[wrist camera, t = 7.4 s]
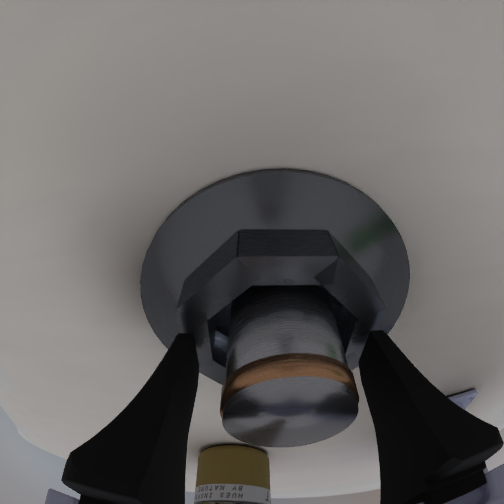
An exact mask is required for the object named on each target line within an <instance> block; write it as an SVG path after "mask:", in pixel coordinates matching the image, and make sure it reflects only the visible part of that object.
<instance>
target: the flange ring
mask: <svg viewBox="0 0 504 504" xmlns="http://www.w3.org/2000/svg"><path fill="white" fill-rule="evenodd" d="M409 279H410V273H409V261H408V255H407V250H406V248H405V245H404V242H403V240H402V237H401V235H400V233H399V232H398V230H397V228H396V227H395V225H394V223H393V222H392V221H391V219H390V218H389V217H388V216H387V215H386V214H385V212H384V211H383V210H382V209H381V208H380V207H379V206H378V205H377V204H376V203H375V202H374V201H373V200H372V199H370V198H369V197H368V196H367V195H365V194H364V193H363V192H361V191H359V190H358V189H356V188H354V187H353V186H351V185H349V184H347V183H345V182H343V181H340V180H338V179H335V178H333V177H330V176H327V175H323V174H319V173H315V172H310V171H304V170H293V169H270V170H259V171H254V172H248V173H243V174H239V175H236V176H233V177H230V178H227V179H224V180H221V181H218V182H216V183H214V184H212V185H210V186H208V187H206V188H205V189H203V190H201V191H199V192H198V193H196V194H195V195H193V196H192V197H190V198H189V199H187V200H186V201H185V202H183V203H182V204H181V205H180V206H179V207H178V208H177V209H176V210H175V211H174V212H173V213H172V214H171V215H170V216H169V217H168V218H167V219H166V221H165V222H164V223H163V225H162V226H161V227H160V229H159V230H158V232H157V234H156V235H155V237H154V239H153V241H152V243H151V245H150V247H149V249H148V251H147V253H146V257H145V260H144V263H143V266H142V273H141V280H140V284H141V298H142V303H143V308H144V311H145V314H146V317H147V319H148V322H149V323H150V325H151V327H152V329H153V331H154V333H155V334H156V335H157V337H158V338H159V339H160V341H161V342H162V343H163V344H164V345H165V346H166V347H167V349H169V348H170V346H171V344H172V342H173V341H174V339H175V337H176V335H177V334H178V333H190V334H194V339H195V344H196V350H197V355H198V361H199V372H200V373H201V374H203V375H205V376H207V377H209V378H210V379H212V380H214V381H216V382H218V383H220V384H222V385H223V384H224V382H225V376H226V363H227V350H228V337H229V324H230V312H231V301H233V300H234V299H235V298H237V297H238V296H239V295H240V294H242V293H243V292H244V291H245V290H247V289H248V288H249V287H250V286H252V285H322V286H323V287H324V288H325V289H326V290H327V293H328V296H329V300H330V303H331V306H332V310H333V313H334V317H335V320H336V324H337V327H338V331H339V334H340V338H341V342H342V345H343V349H344V353H345V356H346V360H347V364H348V368H349V369H350V370H353V369H354V368H356V367H358V366H359V363H358V361H359V359H360V356H361V354H362V351H363V348H364V346H365V343H366V340H367V337H368V335H369V332H370V331H374V330H383V331H384V332H385V333H386V334H388V333H389V331H390V330H391V329H392V327H393V326H394V324H395V322H396V321H397V319H398V317H399V315H400V313H401V311H402V309H403V306H404V304H405V300H406V297H407V293H408V287H409Z"/></svg>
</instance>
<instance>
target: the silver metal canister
mask: <svg viewBox="0 0 504 504" xmlns="http://www.w3.org/2000/svg"><path fill="white" fill-rule="evenodd" d="M358 403H359V395H358V391H357V387H356V384H355V380H354V376H353V373H352V372H351V370H350V369H349V368H348V364H347V360H346V356H345V353H344V349H343V345H342V342H341V338H340V334H339V331H338V327H337V324H336V320H335V317H334V313H333V310H332V306H331V303H330V300H329V296H328V293H327V290H326V289H325V288H324V287H323V286H322V285H252V286H250V287H249V288H248V289H247V290H245V291H244V292H243V293H242V294H240V295H239V296H238V297H237V298H235V299H234V300H233V301H231V312H230V324H229V337H228V350H227V363H226V376H225V382H224V384H223V386H222V392H221V405H220V414H221V417H222V423H223V426H224V428H225V430H226V431H227V432H228V433H229V434H230V435H231V436H233V437H234V438H236V439H238V440H240V441H243V442H246V443H249V444H253V445H258V446H265V447H294V446H301V445H307V444H311V443H315V442H319V441H322V440H325V439H327V438H330V437H332V436H334V435H336V434H338V433H340V432H341V431H343V430H344V429H346V428H347V427H348V426H349V425H350V424H351V423H352V422H353V421H354V420H355V418H356V417H357V414H358Z"/></svg>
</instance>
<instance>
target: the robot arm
mask: <svg viewBox="0 0 504 504" xmlns="http://www.w3.org/2000/svg"><path fill="white" fill-rule="evenodd" d="M358 363H359V369H360V375H361V381H362V385H363V389H364V392H365V395H366V399H367V402H368V406H369V409H370V412H371V416H372V419H373V423H374V427H375V432H376V438H377V445H378V453H379V463H380V480H381V501H380V504H504V464H502V465H500V466H499V467H497V468H495V469H493V470H491V471H489V472H488V470H487V467H486V464H485V461H486V460H487V459H488V458H490V457H491V456H492V455H493V454H495V453H496V452H497V451H498V450H500V449H501V448H502V446H503V441H502V438H501V436H500V433H499V430H498V428H497V427H495V426H493V425H491V424H488V423H486V422H484V421H482V420H480V419H479V418H477V417H475V416H474V415H472V414H470V413H469V412H467V411H465V408H466V407H467V406H468V404H469V403H470V402H471V401H472V400H473V399H474V397H475V396H476V395H477V394H478V391H477V390H476V389H475V390H472V391H468V392H465V393H462V394H458V395H455V396H451V397H448V398H447V397H446V396H445V395H444V394H443V393H442V392H440V391H439V390H438V389H437V388H436V387H435V386H434V385H432V384H431V383H430V382H429V381H428V380H427V379H426V378H425V377H424V376H423V375H422V374H421V373H420V372H419V371H418V369H417V368H416V367H415V366H414V365H413V364H412V363H411V362H410V361H409V360H408V359H407V357H406V356H405V355H404V354H403V353H402V352H401V350H400V349H399V348H398V347H397V346H396V345H395V343H394V342H393V341H392V340H391V339H390V337H389V336H388V335H387V334H386V333H385V332H384V331H383V330H374V331H370V332H369V335H368V337H367V340H366V343H365V346H364V348H363V351H362V354H361V356H360V359H359V361H358ZM198 376H199V361H198V355H197V350H196V344H195V339H194V334H190V333H178V334H177V335H176V337H175V339H174V341H173V342H172V344H171V346H170V348H169V349H168V351H167V353H166V354H165V356H164V358H163V359H162V361H161V362H160V364H159V365H158V367H157V368H156V370H155V371H154V373H153V374H152V376H151V377H150V378H149V380H148V381H147V382H146V384H145V385H144V386H143V388H142V389H141V390H140V392H139V393H138V394H137V395H136V396H135V398H134V399H133V400H132V401H131V402H130V403H129V404H128V406H127V407H126V408H125V409H124V410H123V411H122V412H121V413H120V414H119V415H118V416H117V417H116V418H115V419H114V420H113V421H112V422H110V423H109V424H108V425H107V426H106V427H105V428H103V429H102V430H101V431H100V432H99V433H97V434H96V435H95V436H94V437H92V438H91V439H90V440H88V441H87V442H85V443H84V444H82V445H81V446H79V447H78V448H77V449H75V450H74V451H72V452H71V453H70V455H69V457H68V459H67V462H66V465H65V468H64V472H63V476H62V482H63V483H64V484H65V485H66V486H68V487H69V488H71V489H72V490H74V491H76V492H77V493H79V494H81V496H80V500H78V499H76V498H74V497H71V496H69V495H66V494H63V493H61V492H58V491H56V490H53V489H49V490H48V494H47V498H46V501H45V504H185V470H186V453H187V440H188V433H189V428H190V422H191V417H192V412H193V407H194V402H195V397H196V392H197V387H198Z"/></svg>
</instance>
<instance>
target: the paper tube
mask: <svg viewBox="0 0 504 504" xmlns="http://www.w3.org/2000/svg"><path fill="white" fill-rule="evenodd" d="M194 504H271V494H270V471H269V458H268V457H267V455H266V454H265V453H264V452H262V451H260V450H258V449H255V448H251V447H246V446H237V445H223V446H215V447H211V448H208V449H205V450H204V451H203V452H202V453H201V454H200V455H199V458H198V469H197V480H196V488H195V501H194Z"/></svg>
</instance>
